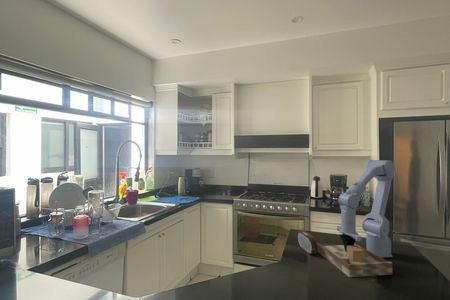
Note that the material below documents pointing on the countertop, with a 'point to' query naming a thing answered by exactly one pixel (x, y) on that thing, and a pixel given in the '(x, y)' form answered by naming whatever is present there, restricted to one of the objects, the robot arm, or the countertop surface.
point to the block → (355, 253)
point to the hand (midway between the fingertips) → (348, 252)
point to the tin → (307, 242)
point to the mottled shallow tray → (355, 268)
